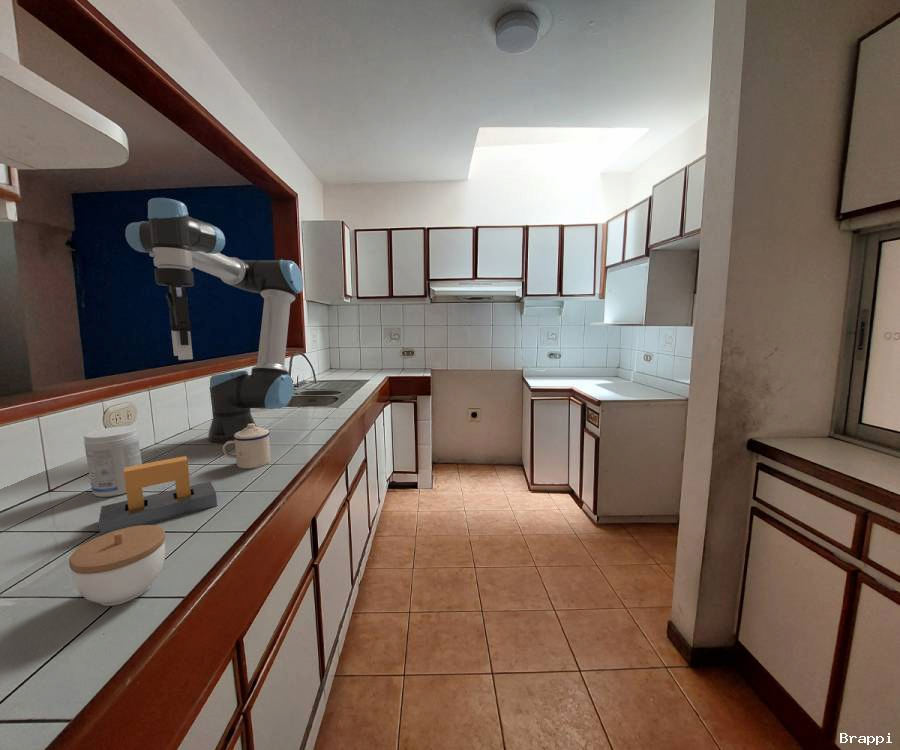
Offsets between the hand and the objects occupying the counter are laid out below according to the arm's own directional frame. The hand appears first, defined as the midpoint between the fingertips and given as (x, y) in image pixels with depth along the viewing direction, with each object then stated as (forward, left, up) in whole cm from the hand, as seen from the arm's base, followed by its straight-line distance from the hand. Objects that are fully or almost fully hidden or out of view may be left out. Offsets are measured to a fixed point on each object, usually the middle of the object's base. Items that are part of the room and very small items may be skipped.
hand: (183, 357), depth 92 cm
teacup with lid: (-3, +13, -32) cm, 35 cm away
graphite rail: (+16, -8, -32) cm, 36 cm away
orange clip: (+16, -8, -32) cm, 36 cm away
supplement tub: (-5, -15, -32) cm, 36 cm away
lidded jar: (+42, -13, -32) cm, 54 cm away
